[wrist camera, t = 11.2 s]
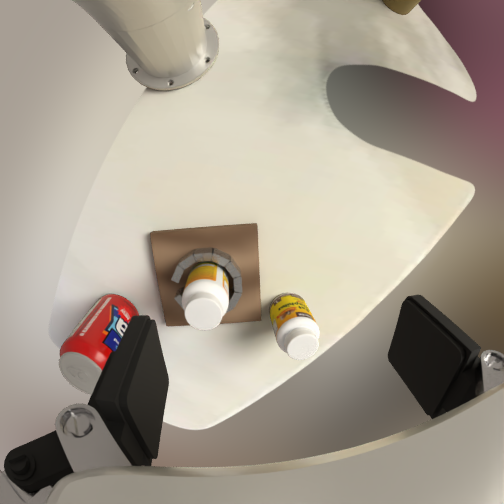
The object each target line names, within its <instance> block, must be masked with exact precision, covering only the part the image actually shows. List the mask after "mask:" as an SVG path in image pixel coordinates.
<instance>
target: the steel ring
mask: <svg viewBox="0 0 504 504" xmlns="http://www.w3.org/2000/svg"><path fill="white" fill-rule="evenodd" d="M200 261H213V262H215V263H217V264H220V265H222V266H224V267H225V268H226V269H227V270H228V272H229V273H230V274H231V276H232V277H233V279H234V286H233V288H232V289H231V291H230V293H229V305H228V309H227V311H226V313H227V312H229V311H231V310H232V309H234V308H235V306H236V304H237V303H238V301H239V299H240V297H241V295H242V278H241V270H240V268H239V266H238V265H237V264H236V262H235V261H234V259H233V258H232V257H231V256H230V255H229V254H227V253H225V252H223V251H221V250H218V249H216V248H214V249H213V247H210V248H196V250H195V249H194V250H192V251H191V252H189V253H188V254H186V255H185V256H184V257H182V258H181V259H180V261H179V263H178V265H177V267H176V270H175V272H174V274H173V277H172V279H171V280H172V281H174V282H176V283H179V280H180V278H181V276H182V274H183V271H184V270H185V269H186V268H188V267H189V266H191V265H192V264H194V263H195V262H200ZM183 292H184V288H183V287H182V288H180V289H179V290H177V292H176V295H175V298H174V299H175V300H176V301H177V302H178V304H179V305H180V306H181V307H182V308H183V306H182V295H183ZM183 310H184V309H183ZM226 313H225V314H226Z"/></svg>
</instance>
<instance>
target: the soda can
mask: <svg viewBox="0 0 504 504" xmlns="http://www.w3.org/2000/svg"><path fill="white" fill-rule="evenodd" d="M132 316H139V313H138V311H137V309H136V308H135V306H134V305H133V304H132V303H131V302H130V301H129V300H127V299H126V298H124V297H122V296H120V295H116V294H108V295H105V296H103V297H101V298H100V299H99V300H98V301H97V302H96V303H95V304H94V305H93V307H92V308H91V309H90V310H89V311H88V313H87V314H86V315H85V316H84V318H83V319H82V320H81V321H80V323H79V324H78V325H77V326H76V328H75V329H74V330H73V331H72V333H71V334H70V335H69V337H68V338H67V339H66V340H65V342H64V343H63V345H62V346H61V349H60V359H59V367H60V370H61V373H62V375H63V376H64V378H65V379H66V380H67V381H68V382H69V383H70V384H71V385H72V386H73V387H75V388H76V389H78V390H80V391H81V392H84V393H87V394H91V395H92V393H93V390H94V388H95V386H96V383H97V381H98V379H99V377H100V374H101V372H102V370H103V368H104V366H105V363H106V361H107V359H108V357H109V355H110V353H111V352H112V351H116V349H117V347H118V345H119V343H120V341H121V338H122V336H123V334H124V332H125V330H126V328H127V326H128V324H129V322H130V320H131V318H132Z"/></svg>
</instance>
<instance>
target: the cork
mask: <svg viewBox="0 0 504 504" xmlns="http://www.w3.org/2000/svg"><path fill="white" fill-rule="evenodd" d="M420 1H421V0H383V2H384V3H385V5H386V6H387V7H388V8H390V9H391V10H392V11H394V12H396V13H398V14H401V15H406V14H408V13H409V12H410V11H411V10H412V9H413V8H414V7H415V6H416V5H417V4H418V3H419V2H420Z"/></svg>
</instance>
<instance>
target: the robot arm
mask: <svg viewBox="0 0 504 504" xmlns="http://www.w3.org/2000/svg"><path fill="white" fill-rule="evenodd" d="M72 1H74V2H75V3H77V4H78V5H79V6H81V7H82V8H83V9H84V10H85V11H86V12H87V13H88V14H89V15H90V16H92V17H93V18H94V19H95V20H96V21H97V22H98V23H99V24H100V26H101V27H102V28H103V29H104V30H105V31H106V32H107V33H108V34H109V35H110V36H111V37H112V38H113V39H114V40H115V41H116V42H117V43H118V44H119V45H120V46H121V47H122V48H123V49H124V50H125V52H126V53H127V55H126V64H127V67H128V70H129V72H130V73H131V75H132V76H133V77H134V78H135V79H136V80H137V81H138V82H139V83H140V84H142V85H144V86H146V87H148V88H151V89H155V90H174V89H178V88H182V87H185V86H187V85H189V84H192V83H193V82H195V81H197V80H198V79H200V78H201V77H202V76H203V75H204V74H206V73H207V72H208V70H209V69H210V68H211V67H212V65H213V64H214V62H215V60H216V58H217V55H218V52H219V38H218V34H217V31H216V30H215V28H214V26H213V25H212V24H211V23H210V22H209V21H208V20H206V19H205V18H203V14H202V7H201V1H200V0H72ZM207 28H208V29H207ZM206 61H210V62H209V63H206ZM137 71H138V73H136V72H137ZM171 83H173V85H171V86H170V84H171ZM480 349H481V347H480V346H479V345H478V344H477V343H476V342H474V341H473V340H472V339H471V338H470V337H469V336H468V335H467V334H466V333H464V332H463V331H462V330H461V329H460V328H459V327H458V326H457V325H456V324H454V323H453V322H452V321H451V320H450V319H449V318H447V317H446V316H445V315H444V314H443V313H442V312H440V311H439V310H438V309H437V308H436V307H434V306H433V305H432V304H431V303H430V302H429V301H427V300H426V299H425V298H424V297H423V296H421V295H414V296H408V297H407V298H406V299H405V301H404V302H403V303H402V307H401V310H400V314H399V318H398V322H397V325H396V329H395V332H394V336H393V339H392V342H391V346H390V349H389V352H388V359H389V362H390V363H391V364H392V366H393V367H394V369H395V370H396V371H397V373H398V374H399V376H400V377H401V378H402V380H403V381H404V383H405V384H406V385H407V387H408V388H409V390H410V391H411V393H412V394H413V395H414V396H415V398H416V400H417V401H418V403H419V404H420V405H421V407H422V408H423V410H424V411H425V413H426V414H427V415H430V416H431V418H432V420H430V421H427V422H425V423H422V424H420V425H418V426H415V427H413V428H410V429H408V430H405V431H402V432H400V433H397V434H394V435H392V436H388V437H386V438H383V439H380V440H377V441H373V442H370V443H367V444H363V445H360V446H356V447H353V448H349V449H345V450H341V451H338V452H333V453H328V454H324V455H319V456H314V457H309V458H304V459H298V460H292V461H285V462H278V463H270V464H261V465H250V466H233V467H213V468H211V467H210V468H209V467H208V468H189V467H155V466H151V463H152V459H156V458H157V456H158V449H159V442H160V435H161V428H162V422H163V415H164V409H165V403H166V397H167V391H168V386H169V378H168V373H167V369H166V365H165V361H164V357H163V353H162V349H161V345H160V340H159V336H158V331H157V326H156V322H155V320H150V317H149V316H132V318H131V320H130V322H129V324H128V326H127V328H126V330H125V332H124V334H123V336H122V338H121V341H120V343H119V345H118V347H117V349H116V351H112V352H111V353H110V355H109V357H108V359H107V361H106V363H105V366H104V368H103V370H102V372H101V374H100V377H99V379H98V381H97V383H96V386H95V388H94V390H93V393H92V395H91V398H90V400H89V403H88V405H86V404H74V405H70V406H68V407H66V408H64V409H63V410H62V411H61V412H60V413H59V414H58V416H57V418H56V422H55V427H56V430H55V431H54V432H51V433H49V434H47V435H45V436H43V437H40V438H38V439H36V440H33V441H31V442H29V443H27V444H24V445H22V446H19V447H17V448H15V449H13V450H11V451H10V452H9V453H8V455H7V456H6V459H5V462H4V468H5V470H4V471H3V472H2V471H1V470H0V504H504V355H503V354H502V353H500V352H497V351H494V350H487V351H485V352H483V353H482V355H481V357H480V358H479V357H478V354H479V351H480ZM446 412H447V413H446Z"/></svg>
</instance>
